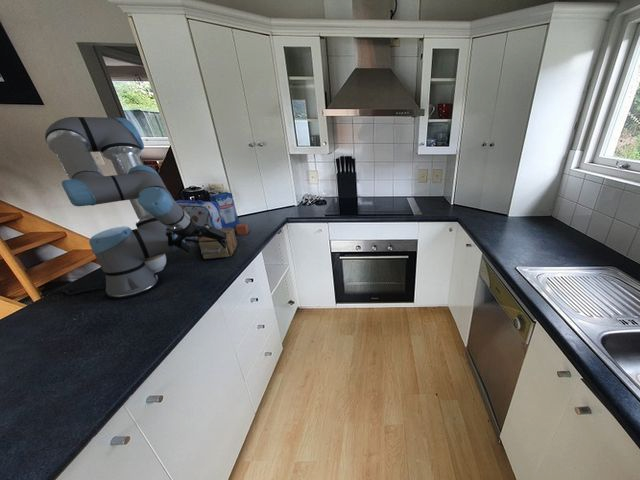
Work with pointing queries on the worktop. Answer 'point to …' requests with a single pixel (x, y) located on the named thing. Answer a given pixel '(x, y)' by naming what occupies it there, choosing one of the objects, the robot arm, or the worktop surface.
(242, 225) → the block
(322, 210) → the worktop surface
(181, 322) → the worktop surface
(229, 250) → the cabinet
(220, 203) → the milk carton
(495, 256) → the worktop surface
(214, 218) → the lunch box
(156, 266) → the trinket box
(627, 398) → the worktop surface
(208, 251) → the drawer
